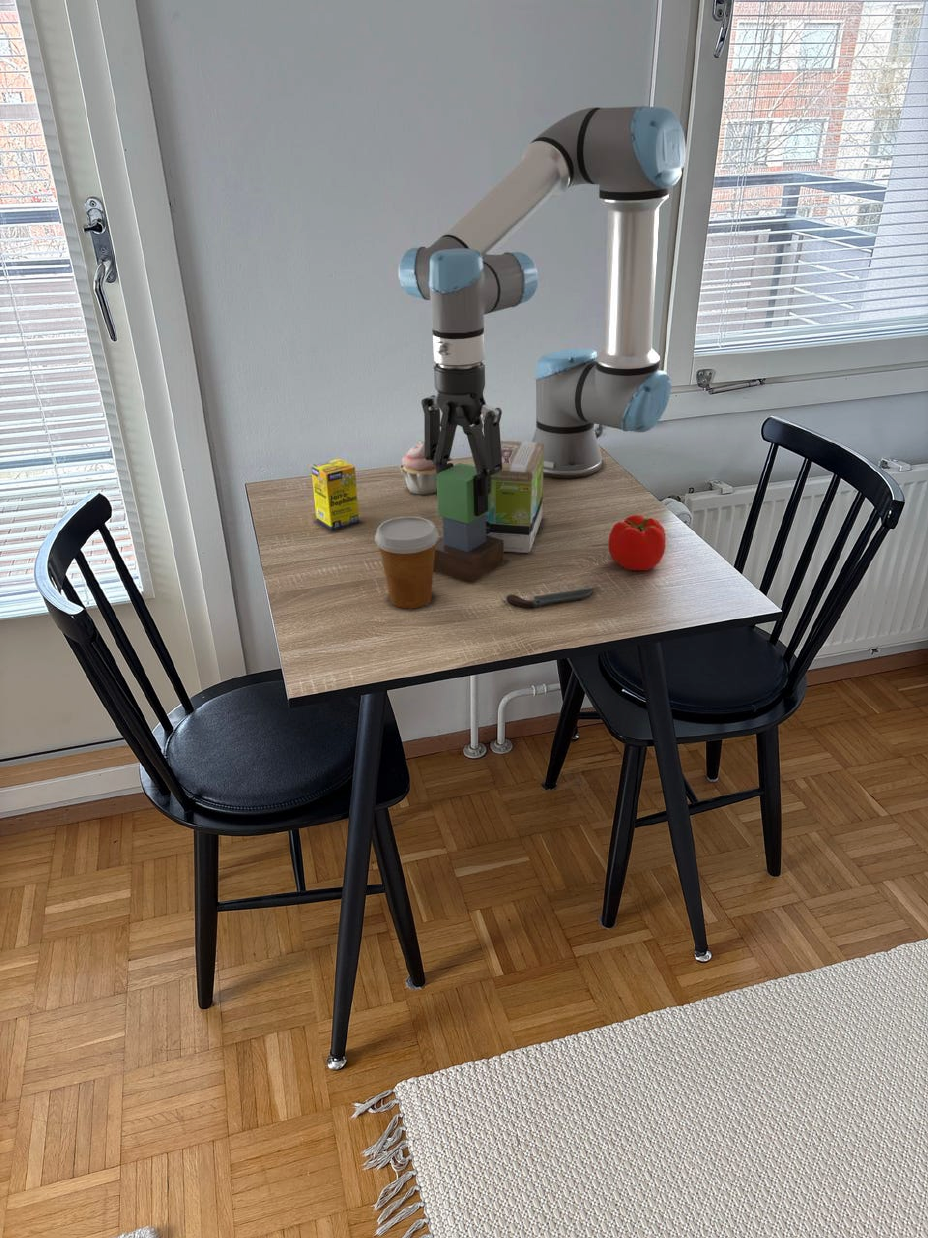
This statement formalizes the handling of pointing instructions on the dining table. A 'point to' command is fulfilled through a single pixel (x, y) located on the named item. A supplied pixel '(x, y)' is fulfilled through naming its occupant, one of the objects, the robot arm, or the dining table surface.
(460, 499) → the green block
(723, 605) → the dining table surface
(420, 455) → the cupcake
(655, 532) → the tomato
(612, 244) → the robot arm
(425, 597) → the disposable coffee cup
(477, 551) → the walnut plinth
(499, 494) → the tea box
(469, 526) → the slate block
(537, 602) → the knife
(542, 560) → the dining table surface
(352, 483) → the supplement box
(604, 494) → the dining table surface
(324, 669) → the dining table surface
